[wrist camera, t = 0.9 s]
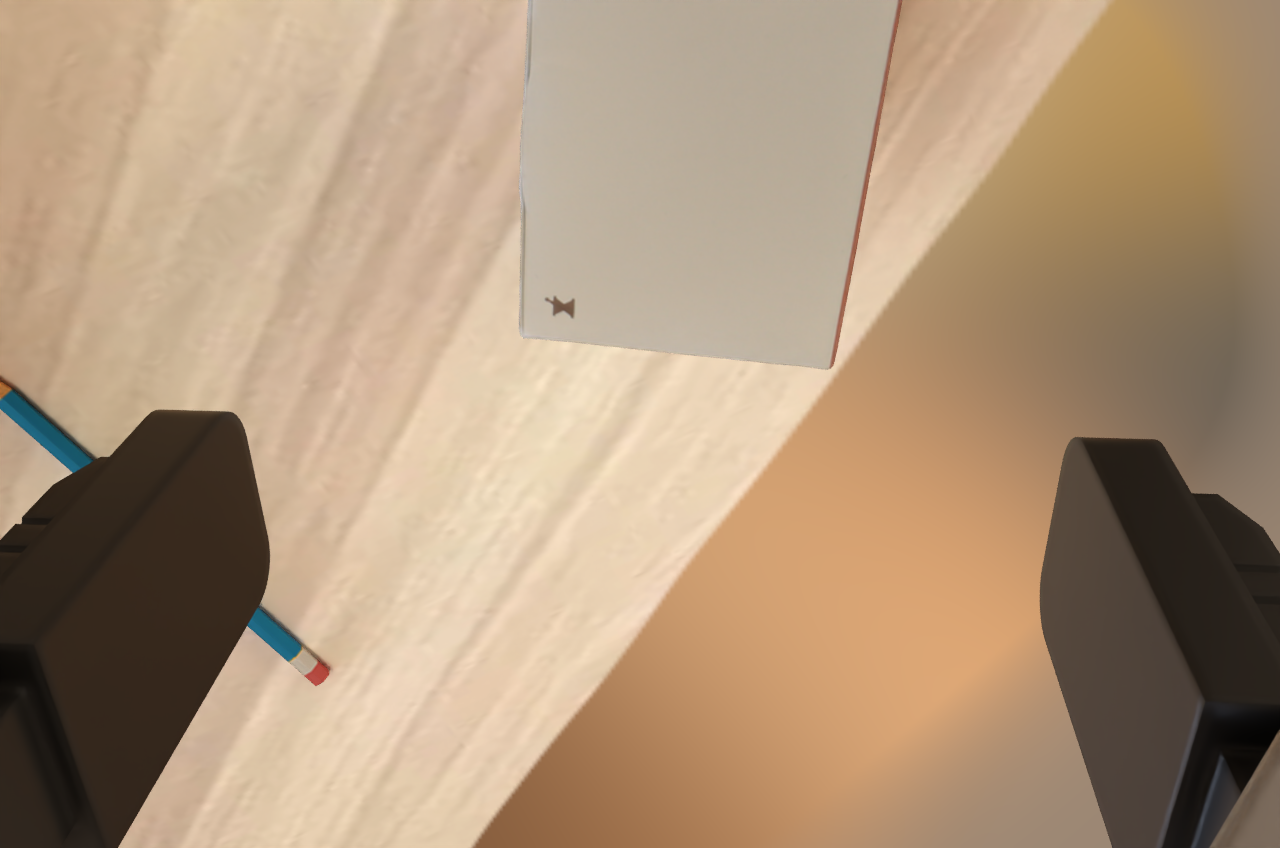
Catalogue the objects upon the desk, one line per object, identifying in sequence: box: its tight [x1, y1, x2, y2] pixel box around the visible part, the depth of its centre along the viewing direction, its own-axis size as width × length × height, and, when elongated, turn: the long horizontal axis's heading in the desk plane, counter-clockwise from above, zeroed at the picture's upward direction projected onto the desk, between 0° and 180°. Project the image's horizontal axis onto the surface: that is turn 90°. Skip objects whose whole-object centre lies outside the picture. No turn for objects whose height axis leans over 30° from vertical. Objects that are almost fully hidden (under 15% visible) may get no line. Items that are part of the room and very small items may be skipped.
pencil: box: [0, 381, 329, 686], centre depth 43 cm, size 1×17×1 cm, turn 38°
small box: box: [519, 0, 902, 370], centre depth 26 cm, size 8×6×13 cm
